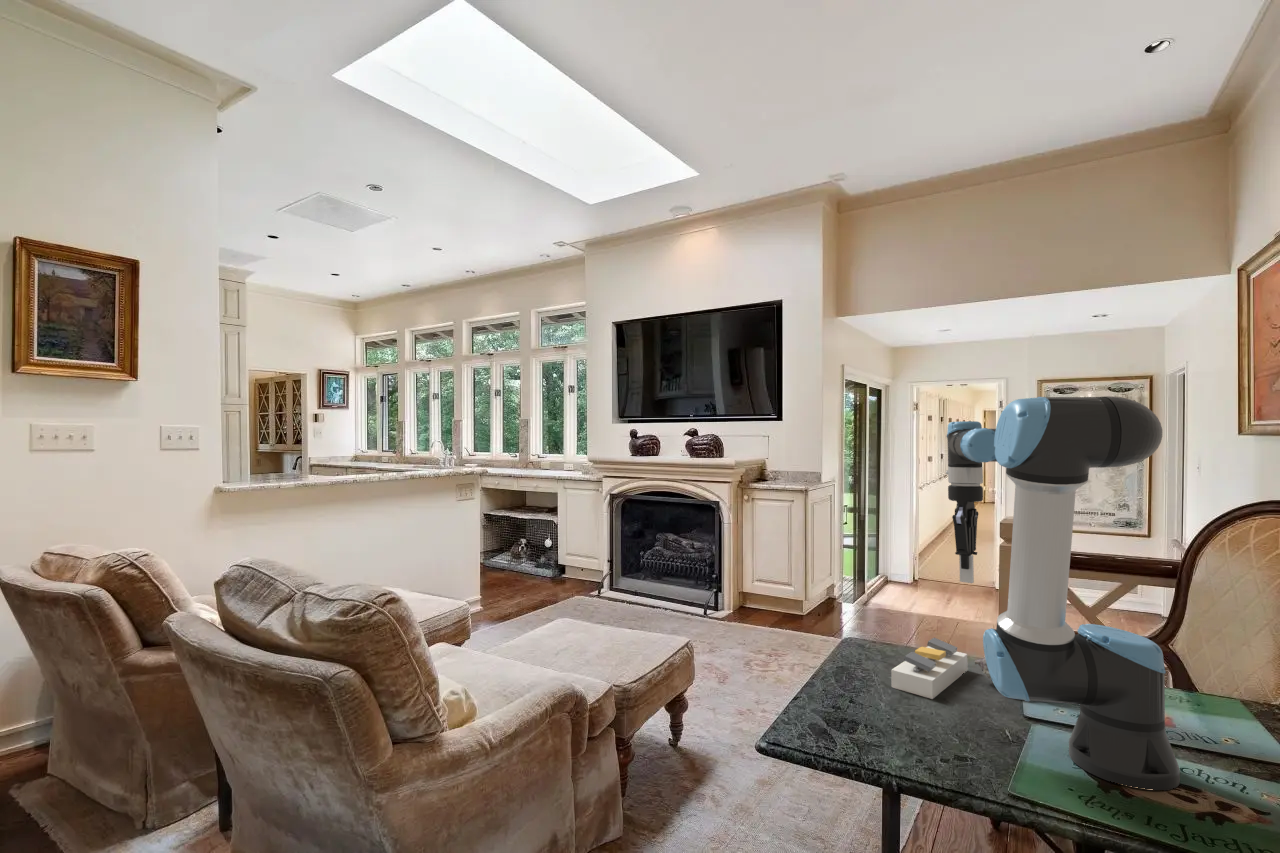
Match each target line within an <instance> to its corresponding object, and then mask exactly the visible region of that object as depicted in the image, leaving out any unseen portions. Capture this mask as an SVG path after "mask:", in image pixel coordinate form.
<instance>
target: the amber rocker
mask: <svg viewBox="0 0 1280 853" xmlns="http://www.w3.org/2000/svg"><path fill="white" fill-rule="evenodd" d="M926 647H927V646H920V647H918V648H916V649H915V650H914V653H916V654H919V655H921V656H923V657H926V658H931V659H935V660H941V659H942V658H944V657H945V656H946V651H942V650H937V649H932V648H926Z"/></svg>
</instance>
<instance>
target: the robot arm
mask: <svg viewBox="0 0 1280 853" xmlns="http://www.w3.org/2000/svg"><path fill="white" fill-rule="evenodd" d="M946 432H947V433H946V439H947V440H946V441H947V443H946V444H947V470H946V471H945V474H946V475H947V478H948V479H947V481H948V483H949V484H948V486H947V492H948V493H947V494H948V495H947V497H948V500H949V501H953V502H956V507H955V508H954V514H953V515H951V516H952V522H953V528H954V538H955V540H954V542H955V549H956V550H955V552H954V554H955V555H957V556H959V559H958V560H959V582H960V583H967V584H973V583H974V582H975V580H974V579H975V578H974V576H975V575H974V555H975V556H977V555H978V552H977V532H978V519H979V511H978V509H977V508H976V506H975V503H979V502H980V503H981V502H983V500H984V487H983V486H982V484H983V483H984V472H983V471H984V470H983V469H984V468H983V463H989V462H990V463H994V462H995V463H998V464H999V465H1000V466H1001V467H1004V468H1005V475H1006V477H1007V478H1008V479H1010V480H1011V482H1012V483H1014V487H1015V488H1014V502H1013V518H1012V533H1011V534H1012V535H1011V550H1010V565H1009V567H1010V568H1009V581H1008V582H1009V584H1008V596H1007V597H1008V598H1007V610H1006V611H1004V612H1002V613H1000V614H999V615H998V616H997V618H996V628H991V627H990V628H988V629H985V631H984V632H983V635H982V645H983V647H982V648H983V653H984V657H985V659H986V663H987V667H988V670H989V673H990V676H991V679H992V680H991V679H990V680H991V681H992V683H993V685H994V687H995V689H996V690H997V691H998V693H1000V695H1002V696H1003V697H1005V698H1008V699H1015V700H1022V701H1023V700H1024V701H1025V702H1030V701H1031V702H1033V701H1035V702H1045V703H1047V702H1048V703H1059V704H1060V703H1061V704H1071V705H1079V706H1080V707H1079V715H1078V717H1077V720H1076V722H1075V725H1074V727H1073V730H1072V732H1071V734H1070V737H1069V739H1068V756H1069V758H1070V759H1071V760H1072V762H1073V763H1075V765H1077V766H1079V768H1081V769H1082V770H1084V771H1086V773H1087V772H1088V773H1089V774H1091V775H1093V776H1095V777H1098V778H1100V779H1103V780H1105V781H1107V782H1110V781H1111V783H1113V782H1115V783H1114V784H1116V783H1119V784H1123V785H1127V786H1132V787H1138V788H1145V789H1153V790H1164V791H1170V789H1171V790H1174V789H1176V788H1177V787H1178V786H1179V785H1180V783H1181V780H1180V779H1181V777H1180V776H1181V773H1180V772H1181V769H1180V766H1179V764H1178V761H1177V758H1176V756H1175V753H1174V750H1173V749H1172V745H1171V742H1170V740H1169V738H1168V735H1167V732H1166V701H1165V700H1166V698H1165V697H1166V696H1165V689H1166V688H1165V674H1166V672H1167V671H1166V669H1165V668H1166V667H1165V661H1164V654H1163V650H1162V648H1161V647H1160V646H1159V644H1157V643H1156V642H1155V641H1153V640H1150V639H1149V638H1147V637H1145V636H1143V635H1139V634H1137V633H1133V632H1131V631H1129V630H1128V631H1127V630H1124V629H1120V628H1117V627H1112V626H1107V625H1102V624H1094V623H1085V624H1084V623H1083V624H1080V625H1079V626H1078V629H1077V634H1076V633H1075V631H1074V629H1073V627H1071V625H1070V624H1068V622H1066V618H1067V617H1066V616H1067V603H1068V593H1069V592H1068V591H1069V580H1070V568H1071V567H1070V565H1071V554H1072V542H1073V531H1074V530H1073V529H1074V527H1073V526H1074V518H1075V503H1076V492H1077V490H1078V489H1079V488H1081V487H1083V486H1084V485H1086V484H1088V482H1089V475H1090V469H1091V468H1093V469H1095V468H1096V469H1097V468H1101V469H1102V468H1119V467H1126V466H1131V465H1134V464H1138V463H1140V462H1143V461H1144V460H1147V459H1148V458H1150V457H1151V456H1152V455H1154V454H1155V452H1156V451H1157V450H1158V448H1159V446H1160V445H1161V444H1162V439H1163V426H1162V423H1161V422H1160V419H1159V417H1158V416H1157V414H1155V413H1154V412H1153V411H1152V410H1151V409H1150V408H1149V407H1147V406H1146V405H1144V404H1142V403H1141V402H1139V401H1136V400H1134V399H1133V400H1132V399H1129V398H1125V397H1119V396H1110V395H1108V396H1107V395H1105V396H1037V397H1029V398H1018V399H1015V400H1014V399H1013V401H1010V402H1009V403H1008V404H1007V405H1006V406H1005V407H1004V409H1003V410H1002V411H1001V413H1000V415H999V417H998V421H997V423H996V428H987V427H982V423H981V422H980V421H973V420H972V421H971V420H970V421H969V420H968V421H966V420H965V421H963V420H962V421H951V422H949V423H948V425H947V431H946ZM1119 784H1118V785H1119ZM1123 785H1122V786H1123ZM1127 786H1126V787H1127ZM1173 788H1174V789H1173Z"/></svg>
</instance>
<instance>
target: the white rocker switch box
mask: <svg viewBox="0 0 1280 853" xmlns="http://www.w3.org/2000/svg"><path fill="white" fill-rule="evenodd" d="M925 647H926V648H932V647H929V646H925ZM932 649H934V648H932ZM925 658H926V657H925ZM927 659H930V660H932V661H934V662H936V667H935V668H933V669H932V670H931V671H929V672H928V671H926V670H924V669H922V668H919V667H917V666H915V665H913V664H911V663H909V662H906V661H903V662H901V663H899V664H898V665H897V666H895V667H893V668H892V669H891V671H890V674H891V676H890V677H891V681H890V682H891V684H890V685H891V688H893V689H896V690H900V691H903V692H906V693H909V694H914V695H917V696H921V697H924V698H926V699H927V698H928V699H931V700H933V699H935V698H936V697H937V696H938V695H939V694H941V693H942V692H943V691H944V690H946V689H947V688H949V686H951V685H952V684H953V683H954V682H955V681H956V680H958V679H959V678H960V677H961V676H963V675H964V674H965V673H966V672H968V653H964V652H961V651H957V652H955V653H954V654H953V655H951V656H950V655H948V654H946V656H945V657H944V658H942V659H941V660H935V659H931V658H927ZM965 671H966V672H965ZM963 673H964V674H963ZM962 674H963V675H962Z"/></svg>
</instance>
